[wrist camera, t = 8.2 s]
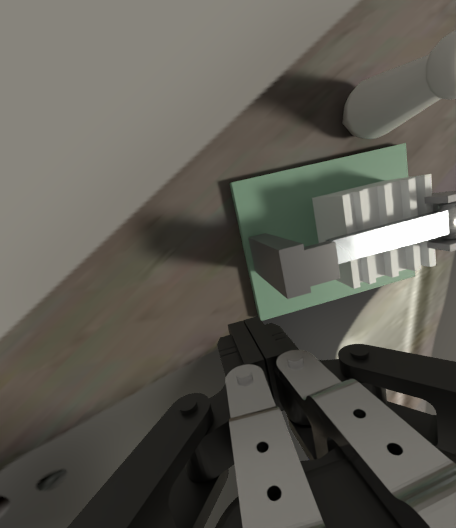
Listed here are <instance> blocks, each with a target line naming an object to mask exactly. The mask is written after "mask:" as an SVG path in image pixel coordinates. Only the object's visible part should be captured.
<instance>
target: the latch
mask: <svg viewBox="0 0 456 528" xmlns="http://www.w3.org/2000/svg"><path fill="white" fill-rule="evenodd" d="M248 239H249V244H250V249H251V253H252V258H253V263H254V268H255V272H256V273H257V274H258V275H259V276H261V277H262V278H263V279H264V280H265V281H267V282H268V283H269V284H270V285H271V286H273V287H274V288H275V289H276V290H277V291H278V292H280V293H281V294H282V295H283V296H284V297H286V298H287V299H291V298H294V297H298V296H301V295H305V294H308V293H311V288H310V287H311V286H315V285H318V284H322V283H325V282H329V281H332V280H336V279H340V271H339V264H338V256H337V249H336V242H333V241H325V242H321V243H318V244H314V245H310V246H306V247H304V245H303V244H302V243H298V242H295V241H291V240H288V239H284V238H281V237H277V236H274V235H270V234H267V233H264V234H260V235H256V236H252V237H248Z"/></svg>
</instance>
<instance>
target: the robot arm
mask: <svg viewBox="0 0 456 528" xmlns="http://www.w3.org/2000/svg"><path fill="white" fill-rule="evenodd" d="M228 329H229V333H230V335H228V336H225V337H221V338H220V339H219V341H218V344H217V346H218V350H219V354H220V358H221V361H222V365H223V369H224V373H225V377H226V384H225V385H224V387H223V389H222V390H221V391H220V392H219V393H217V394H216V395H214V396H213V397H211V398H208V397H207V396H205V395H204V394H201V393H192V394H188V395H185V396H183V397H181V398H180V399H178V400H177V401H176V402H175V403H174V404H173V405H172V406H171V407H170V408H169V409H168V411H167V412H166V413H165V414H164V416H163V417H162V418H161V419H160V420H159V421H158V422H157V424H156V425H155V426H154V427H153V428H152V429H151V430H150V432H149V433H148V434H147V435H146V436H145V438H144V439H143V440H142V441H141V442H140V443H139V444H138V446H137V447H136V448H135V449H134V450H133V452H132V453H131V454H130V455H129V456H128V457H127V459H126V460H125V461H124V462H123V463H122V464H121V465H120V467H119V468H118V469H117V470H116V471H115V472H114V474H113V475H112V476H111V477H110V478H109V479H108V481H107V482H106V483H105V484H104V485H103V487H102V488H101V489H100V490H99V491H98V492H97V494H96V495H95V496H94V497H93V498H92V499H91V501H90V502H89V503H88V504H87V505H86V506H85V508H84V509H83V510H82V511H81V512H80V513H79V515H78V516H77V517H76V518H75V519H74V520H73V522H72V523H71V524H70V525H69V526H68V528H204V526H205V524H206V522H207V519H208V518H209V516H210V513H211V511H212V509H213V507H214V505H215V503H216V501H217V499H218V497H219V495H220V493H221V491H222V488H223V487H224V485H225V482H226V480H227V478H228V468H230V467H231V466H232V465H234V464H235V472H236V480H237V487H238V494H239V496H238V497H237V498H236V499H235V500H234V501H233V502H232V503H231V504H230V505H229V506H228V508H227V509H226V510H225V512H224V513H223V515H222V516H221V518H220V520H219V522H218V523H217V525H216V527H215V528H456V362H454V361H448V360H443V359H438V358H433V357H427V356H422V355H417V354H412V353H406V352H401V351H396V350H391V349H385V348H380V347H375V346H370V345H364V344H352V345H348V346H345V347H343V348H342V349H341V350H340V351H339V353H338V356H339V359H335V360H322V361H321V360H318V359H316V358H315V357H314V356H313V355H312V354H311V353H309V352H307V351H303V350H299V349H298V348H297V347H296V346H295V344H294V343H293V342H292V341H291V339H290V338H289V337H288V336H287V335H286V333H284V331H283V330H282V329H281V328H280V326H278V325H275V324H273V323H269V324H266V325H264V324H263V322H262V321H261V319H260V318H259V317H258V316H257V317H253V318H250V319H246V320H243V321H239V322H236V323H232V324H229V325H228ZM386 389H389V390H392V391H396V392H399V393H403V394H407V395H410V396H414V397H417V398H421V399H424V400H426V401H427V402H429V403H430V404H431V405H433V407H434V408H435V410H436V413H437V415H430V414H427V413H424V412H421V411H417V410H414V409H411V408H408V407H404V406H401V405H398V404H395V403H391V402H388V401H387V399H386ZM283 410H285V412H286V414H287V418H288V423H289V427H290V429H291V431H292V432H293V434H294V436H295V437H296V439H297V441H298V442H299V444H300V445H301V447H302V449H303V451H304V452H305V454H306V455H307V457H308V459H309V460H308V461H300V460H299V457H298V455H297V452H296V450H295V447H294V444H293V442H292V439H291V437H290V434H289V431H288V429H287V426H286V424H285V421H284V418H283V416H282V413H281V411H283Z"/></svg>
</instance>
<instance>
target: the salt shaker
mask: <svg viewBox="0 0 456 528" xmlns="http://www.w3.org/2000/svg"><path fill="white" fill-rule="evenodd" d="M441 98H442V99H455V98H456V30H455V31H453V32H451V33H449V34H448V35H447V36H445V37H444V38H443V39H442V40H441V41H440V42H439V43H438V44H437V45H436V46H435V48H434V49H433V50H432V51H431V52H430V54H429V55H427V56H424V57H422V58H419V59H417V60H414V61H411V62H409V63H406V64H404V65H401V66H399V67H396V68H394V69H391V70H388V71H386V72H383V73H381V74H378V75H376V76H373V77H371V78H368V79H366V80H364V81H362V82H360V83H359V84H358V85H357V86H356V88H355V89H354V90H353V91H352V92H351V93H350V95H349V97H348V99H347V101H346V103H345V105H344V113H343V122H342V124H343V125H344V126H345V127H346V128H347V129H348V131H349V132H350V133H351V134H352V135H353V136H356V137H360V138H366V139H375V138H378V137H380V136H382V135H385V134H387V133H388V132H390V131H391V130H393V129H395V128H396V127H398V126H399V125H401V124H402V123H404V122H405V121H407V120H409V119H410V118H412V117H413V116H415V115H416V114H418V113H419V112H421V111H422V110H424V109H426V108H427V107H429V106H430V105H432V104H433V103H435V102H436V101H438V100H440V99H441Z"/></svg>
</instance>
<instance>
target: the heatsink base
mask: <svg viewBox="0 0 456 528" xmlns="http://www.w3.org/2000/svg"><path fill="white" fill-rule="evenodd" d="M230 189H231V193H232V198H233V203H234V207H235V212H236V216H237V221H238V226H239V230H240V235H241V240H242V244H243V249H244V253H245V258H246V263H247V267H248V272H249V276H250V281H251V286H252V290H253V295H254V300H255V304H256V309H257V313H258V317H259V318H260V319H261V321H263V320H266V319H270V318H273V317H277V316H280V315H283V314H287V313H290V312H294V311H297V310H301V309H304V308H307V307H311V306H314V305H318V304H321V303H325V302H328V301H331V300H335V299H338V298H342V297H345V296H349V295H352V294H355V293H359V292H363V291H366V290H369V289H373V288H376V287H380V286H383V285H387V284H390V283H393V282H397V281H400V280H404V279H407V278H411V277H414V276H415V271H417V270H421V265H424V266H428V267H431V266H435V265H436V258H435V249H438V250H445V251H453V250H456V238H454V239H440V236H439V237H436V238H435V239H436V240H435V239H434V238H432V239H429V240H425V241H421V242H418V243H414V244H410V245H407V246H403V247H399V248H396V249H392V250H388V251H385V252H381V253H377V254H374V255H370V256H366V257H363V258H359V259H355V260H352V261H348V262H345V263H341V264H339V271H340V279H336V280H332V281H329V282H325V283H322V284H318V285H315V286H311V287H310V288H311V293H308V294H305V295H301V296H298V297H294V298H291V299H287V298H286V297H284V296H283V295H282V294H281V293H280V292H278V291H277V290H276V289H275V288H274V287H273V286H271V285H270V284H269V283H268V282H267V281H265V280H264V279H263V278H262V277H261V276H259V275H258V274H257V273H256V272H255V268H254V263H253V258H252V253H251V249H250V244H249V239H248V237H252V236H256V235H260V234H264V233H267V234H270V235H274V236H277V237H281V238H284V239H288V240H291V241H295V242H298V243H302V244H303V245H304V247H306V246H310V245H314V244H318V243H321V242H325V241H326V239H330V238H334V237H338V236H341V235H345V234H349V233H353V232H357V231H361V230H364V229H368V228H372V227H376V226H380V225H384V224H387V223H391V222H395V221H399V220H403V219H407V218H410V217H414V216H418V215H422V214H426V213H429V212H433V211H437V210H438V204H442V203H451V202H456V191H449V192H442V193H432V181H431V174H427V175H420V176H413V177H408V168H407V154H406V143H404V144H400V145H395V146H391V147H386V148H382V149H377V150H373V151H369V152H364V153H360V154H355V155H351V156H347V157H342V158H338V159H333V160H329V161H324V162H320V163H316V164H311V165H307V166H302V167H298V168H294V169H289V170H285V171H280V172H276V173H272V174H267V175H263V176H258V177H254V178H249V179H245V180H241V181H236V182H232V183H230Z"/></svg>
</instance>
